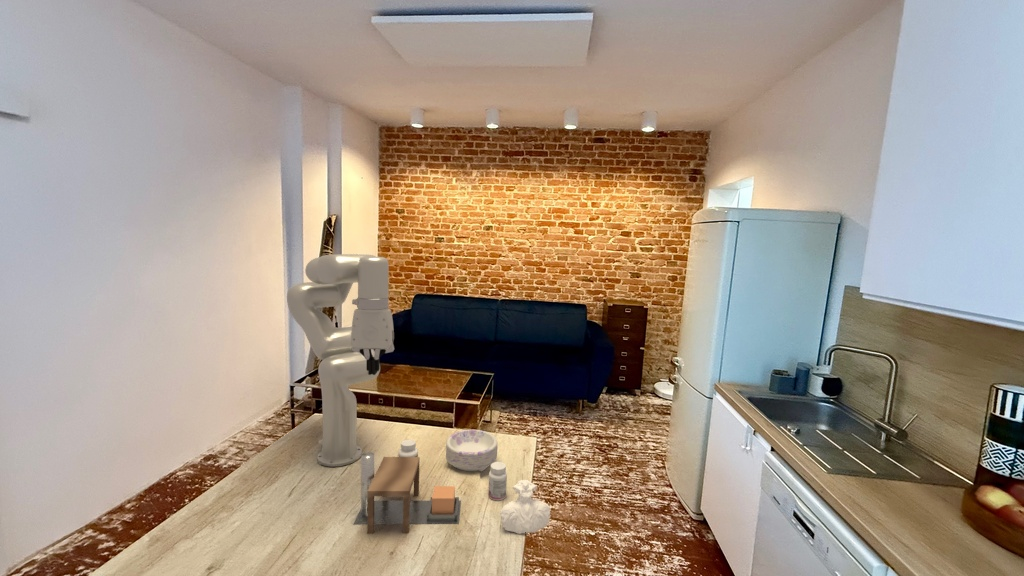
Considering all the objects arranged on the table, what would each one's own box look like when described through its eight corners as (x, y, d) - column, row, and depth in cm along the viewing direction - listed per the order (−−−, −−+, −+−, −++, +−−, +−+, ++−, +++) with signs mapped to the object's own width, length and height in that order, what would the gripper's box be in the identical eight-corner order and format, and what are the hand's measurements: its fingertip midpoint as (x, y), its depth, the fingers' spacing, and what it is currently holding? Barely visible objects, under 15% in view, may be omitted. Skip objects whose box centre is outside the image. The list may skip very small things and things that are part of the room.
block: (431, 518, 100) (432, 498, 99) (434, 505, 105) (434, 486, 104) (453, 518, 100) (453, 498, 99) (454, 505, 105) (455, 486, 104)
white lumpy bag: (548, 531, 102) (542, 480, 108) (555, 530, 95) (549, 476, 101) (498, 536, 100) (496, 483, 105) (503, 534, 93) (500, 479, 99)
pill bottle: (487, 490, 114) (488, 460, 113) (505, 490, 114) (506, 460, 114) (488, 501, 109) (489, 470, 108) (506, 500, 110) (508, 470, 109)
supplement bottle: (412, 481, 117) (413, 448, 116) (394, 478, 118) (395, 445, 117) (420, 471, 122) (421, 439, 121) (403, 469, 123) (403, 437, 122)
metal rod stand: (353, 528, 97) (353, 465, 95) (364, 504, 106) (364, 446, 104) (458, 527, 98) (460, 465, 97) (461, 504, 107) (462, 446, 106)
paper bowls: (463, 485, 116) (464, 458, 115) (436, 462, 128) (436, 437, 127) (507, 468, 125) (508, 443, 125) (478, 448, 137) (478, 424, 136)
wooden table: (328, 552, 89) (327, 502, 88) (360, 489, 112) (360, 449, 111) (468, 550, 91) (469, 502, 90) (471, 489, 114) (472, 449, 113)
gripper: (338, 305, 105) (339, 377, 107) (399, 307, 106) (398, 378, 108) (348, 301, 113) (348, 368, 115) (405, 303, 114) (404, 369, 116)
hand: (373, 373), depth 111 cm, fingers closed
